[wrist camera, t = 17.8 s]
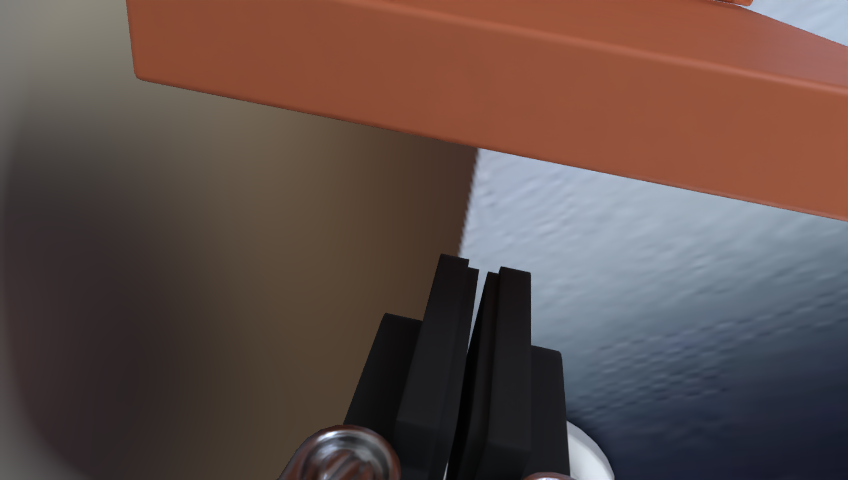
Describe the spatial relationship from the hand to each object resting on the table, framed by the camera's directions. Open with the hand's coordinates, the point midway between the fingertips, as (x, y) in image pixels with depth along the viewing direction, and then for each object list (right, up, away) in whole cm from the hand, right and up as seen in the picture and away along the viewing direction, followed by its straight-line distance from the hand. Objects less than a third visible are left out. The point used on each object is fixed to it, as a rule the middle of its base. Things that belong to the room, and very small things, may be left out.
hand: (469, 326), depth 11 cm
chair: (+4, +14, +6) cm, 16 cm away
